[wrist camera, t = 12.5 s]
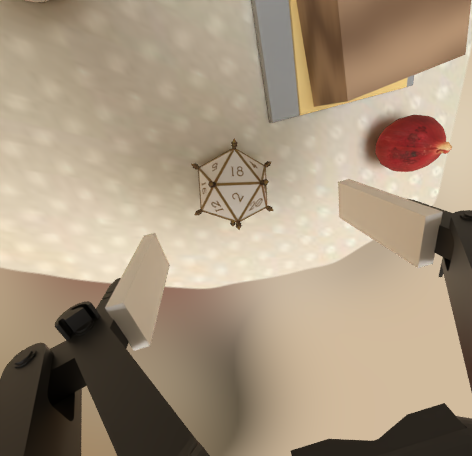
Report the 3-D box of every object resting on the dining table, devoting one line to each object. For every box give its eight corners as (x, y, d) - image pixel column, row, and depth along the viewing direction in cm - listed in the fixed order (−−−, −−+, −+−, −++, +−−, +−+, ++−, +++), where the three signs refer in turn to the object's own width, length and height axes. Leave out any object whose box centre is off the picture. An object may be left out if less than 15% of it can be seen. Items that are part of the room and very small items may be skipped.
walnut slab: (293, -19, 19) (329, -77, 13) (403, -65, 19) (486, -142, 13) (313, 106, 23) (347, 101, 18) (403, 70, 23) (465, 54, 18)
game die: (234, 161, 30) (297, 139, 22) (237, 224, 30) (300, 225, 22) (170, 152, 24) (225, 120, 16) (176, 230, 25) (231, 235, 17)
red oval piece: (361, 171, 29) (414, 187, 22) (360, 125, 26) (419, 125, 19) (403, 157, 29) (470, 168, 22) (406, 109, 26) (483, 104, 19)
